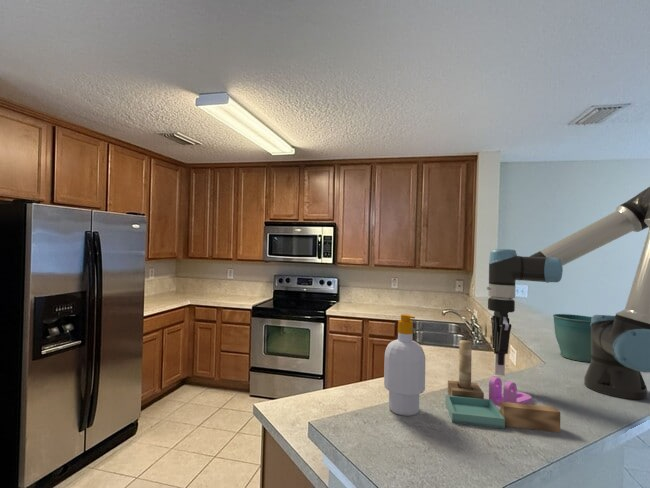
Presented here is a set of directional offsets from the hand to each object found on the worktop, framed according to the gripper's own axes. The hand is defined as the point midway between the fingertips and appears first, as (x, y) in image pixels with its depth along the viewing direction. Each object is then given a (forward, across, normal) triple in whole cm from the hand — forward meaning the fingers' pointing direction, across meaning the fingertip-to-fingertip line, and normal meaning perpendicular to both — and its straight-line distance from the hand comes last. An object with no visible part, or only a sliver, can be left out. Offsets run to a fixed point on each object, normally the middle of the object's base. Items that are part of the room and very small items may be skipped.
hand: (499, 374), depth 109 cm
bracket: (+4, +12, 0) cm, 12 cm away
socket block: (+4, +14, -12) cm, 19 cm away
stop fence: (+4, +27, 0) cm, 27 cm away
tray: (+4, +24, -12) cm, 27 cm away
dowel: (+4, +14, -12) cm, 19 cm away
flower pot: (+3, -46, +44) cm, 64 cm away
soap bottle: (+5, +26, -30) cm, 39 cm away
